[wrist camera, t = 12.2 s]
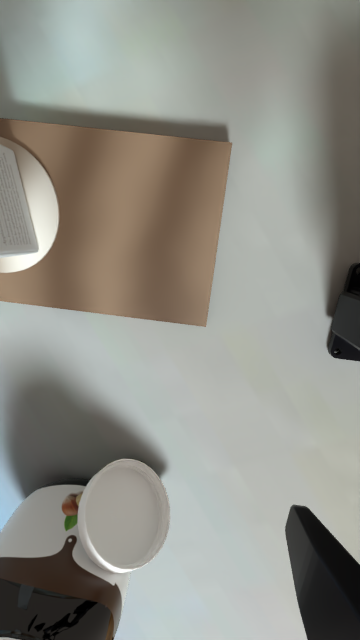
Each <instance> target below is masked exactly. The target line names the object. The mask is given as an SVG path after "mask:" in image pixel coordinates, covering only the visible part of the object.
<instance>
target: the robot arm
mask: <svg viewBox="0 0 360 640" xmlns="http://www.w3.org/2000/svg"><path fill="white" fill-rule="evenodd" d="M359 267H360V263H355V264H353V265H352V266H351V267H350V269H349V272H348V276H347V280H346V284H345V287H344V291H343V292H342V293H341V294H340V296H339V300H338V304H337V308H336V311H335V315H334V319H333V323H332V326H331V330H332V331H333V333H332V336H331V340H330V344H329V348H328V352H329V354H330V355H331V356H333V357H334V358H338V359H346V360H354V361H360V273H359V274H357V273H356V270H357V269H358V268H359ZM337 348H339V351H338V352H337V353H334V351H335V349H337ZM285 533H286V540H287V546H288V551H289V557H290V562H291V568H292V574H293V579H294V585H295V591H296V596H297V601H298V605H299V609H300V613H301V617H302V620H303V624H304V628H305V632H306V635H307V639H308V640H360V565H359V563H358V562H357V561H356V560H355V559H354V558H353V557H352V556H351V555H350V554H349V552H348V551H347V550H346V549H345V548H344V547H343V546H342V545H341V544H340V543H339V541H338V540H337V539H336V538H335V537H334V536H333V535H332V534H331V533H330V531H329V530H328V529H327V528H326V527H325V526H324V525H323V524H322V523H321V522H320V520H319V519H318V518H317V517H316V516H315V515H314V514H313V513H312V512H311V511H310V509H309V508H307V507H306V506H300V505H292V506H291V508H290V512H289V515H288V519H287V523H286V528H285Z"/></svg>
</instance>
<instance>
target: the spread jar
mask: <svg viewBox="0 0 360 640" xmlns="http://www.w3.org/2000/svg"><path fill="white" fill-rule="evenodd" d="M169 523H170V506H169V500H168V496H167V493H166V490H165V487H164V485H163V483H162V481H161V480H160V478H159V477H158V475H157V474H156V473H155V472H154V471H153V470H152V469H151V468H150V467H149V466H147V465H146V464H145V463H143V462H140V461H138V460H134V459H120V460H116V461H114V462H112V463H110V464H108V465H106V466H105V467H104V468H103V469H102V470H100V471H99V472H98V473H97V474H96V475H94V476H93V478H92V479H91V480H85V479H70V480H63V481H58V482H54V483H51V484H48V485H45V486H43V487H41V488H39V489H38V490H36V491H34V492H33V493H31V494H30V495H29V496H28V497H27V498H26V499H25V500H24V501H23V502H22V503H21V504H20V505H19V507H18V508H17V509H16V510H15V512H14V513H13V514H12V516H11V517H10V519H9V520H8V521H7V523H6V524H5V526H4V527H3V529H2V530H1V532H0V640H113V639H114V637H115V634H116V631H117V628H118V625H119V621H120V618H121V615H122V611H123V607H124V603H125V598H126V594H127V589H128V584H129V579H130V574H131V570H135V569H138V568H141V567H143V566H144V565H146V564H148V563H149V562H150V561H151V560H152V559H153V558H155V557H156V555H157V554H158V553H159V551H160V550H161V548H162V546H163V544H164V542H165V540H166V537H167V533H168V530H169Z"/></svg>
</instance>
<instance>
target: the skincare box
mask: <svg viewBox="0 0 360 640" xmlns="http://www.w3.org/2000/svg"><path fill="white" fill-rule="evenodd" d="M37 252H38V246H37V242H36V239H35V235H34V231H33V227H32V223H31V219H30V215H29V211H28V207H27V203H26V199H25V195H24V191H23V187H22V183H21V179H20V175H19V171H18V167H17V163H16V159H15V155H14V152H13V150H11V149H9V148H7V147H5V146H3V145H1V144H0V258H4V257H12V256H19V255H27V254H33V253H37Z"/></svg>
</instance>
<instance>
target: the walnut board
mask: <svg viewBox="0 0 360 640" xmlns="http://www.w3.org/2000/svg"><path fill="white" fill-rule="evenodd" d="M0 144H1V145H3V146H5V147H7V148H9V149H11V150H13V152H14V155H15V159H16V163H17V167H18V171H19V175H20V179H21V183H22V187H23V191H24V195H25V199H26V203H27V207H28V211H29V215H30V219H31V223H32V227H33V231H34V235H35V239H36V242H37V246H38V252H37V253H33V254H27V255H19V256H12V257H4V258H0V301H5V302H13V303H21V304H29V305H37V306H45V307H52V308H60V309H68V310H76V311H84V312H92V313H100V314H108V315H116V316H124V317H132V318H140V319H148V320H156V321H164V322H172V323H180V324H188V325H196V326H204V327H206V323H207V316H208V309H209V302H210V295H211V287H212V280H213V273H214V266H215V259H216V252H217V245H218V238H219V231H220V224H221V217H222V210H223V203H224V196H225V189H226V182H227V175H228V168H229V161H230V154H231V147H232V143H230V142H220V141H211V140H201V139H192V138H182V137H173V136H164V135H154V134H145V133H135V132H126V131H116V130H107V129H97V128H88V127H79V126H69V125H60V124H50V123H41V122H31V121H22V120H12V119H3V118H0Z"/></svg>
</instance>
